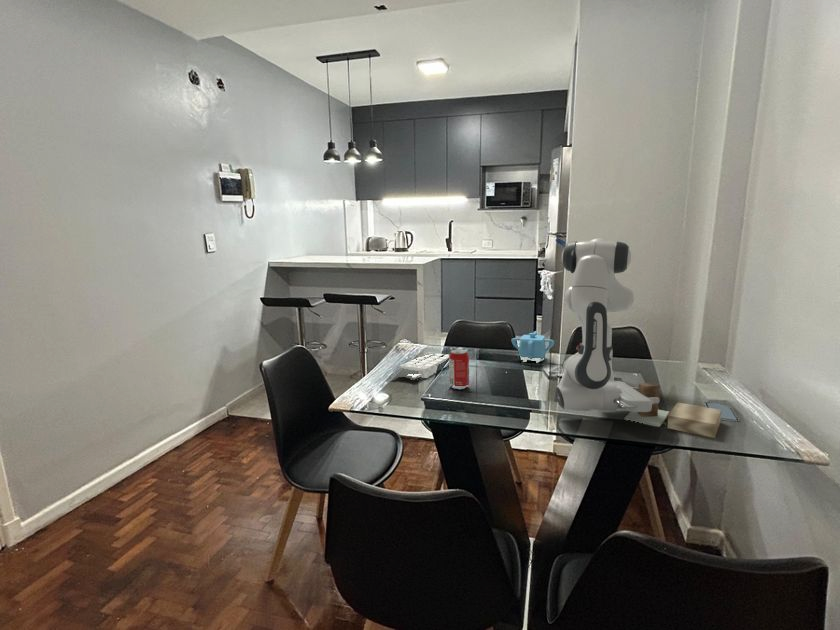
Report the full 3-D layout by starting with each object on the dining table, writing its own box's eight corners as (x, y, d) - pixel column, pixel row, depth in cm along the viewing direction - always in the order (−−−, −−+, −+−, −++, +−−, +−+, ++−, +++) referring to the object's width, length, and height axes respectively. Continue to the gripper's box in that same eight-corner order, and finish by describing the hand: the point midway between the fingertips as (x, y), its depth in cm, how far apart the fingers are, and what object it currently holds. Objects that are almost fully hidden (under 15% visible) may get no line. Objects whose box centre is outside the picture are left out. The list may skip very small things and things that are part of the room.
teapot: (557, 362, 214) (557, 334, 212) (526, 366, 209) (527, 337, 207) (535, 354, 231) (535, 328, 229) (507, 357, 226) (507, 331, 224)
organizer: (453, 355, 215) (416, 373, 185) (453, 364, 216) (416, 384, 186) (428, 352, 222) (389, 370, 192) (428, 362, 222) (389, 381, 192)
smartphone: (712, 418, 142) (703, 401, 156) (711, 421, 142) (703, 404, 156) (740, 421, 139) (729, 404, 153) (739, 424, 139) (728, 406, 153)
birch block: (667, 428, 136) (668, 415, 135) (676, 414, 147) (677, 402, 146) (714, 437, 128) (715, 424, 128) (720, 422, 139) (721, 410, 139)
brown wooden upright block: (641, 416, 144) (643, 386, 142) (637, 413, 147) (638, 383, 145) (657, 416, 144) (659, 385, 142) (652, 412, 147) (654, 383, 145)
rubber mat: (624, 419, 143) (624, 418, 143) (636, 407, 154) (636, 405, 154) (659, 427, 137) (659, 425, 137) (669, 413, 148) (669, 411, 147)
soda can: (446, 389, 178) (445, 352, 175) (454, 384, 185) (453, 348, 182) (464, 392, 174) (464, 354, 172) (472, 386, 181) (471, 349, 179)
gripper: (623, 397, 133) (670, 396, 134) (595, 377, 154) (636, 376, 154) (622, 418, 134) (668, 416, 135) (595, 395, 155) (635, 394, 155)
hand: (651, 395), depth 144 cm, fingers open, 7 cm apart
